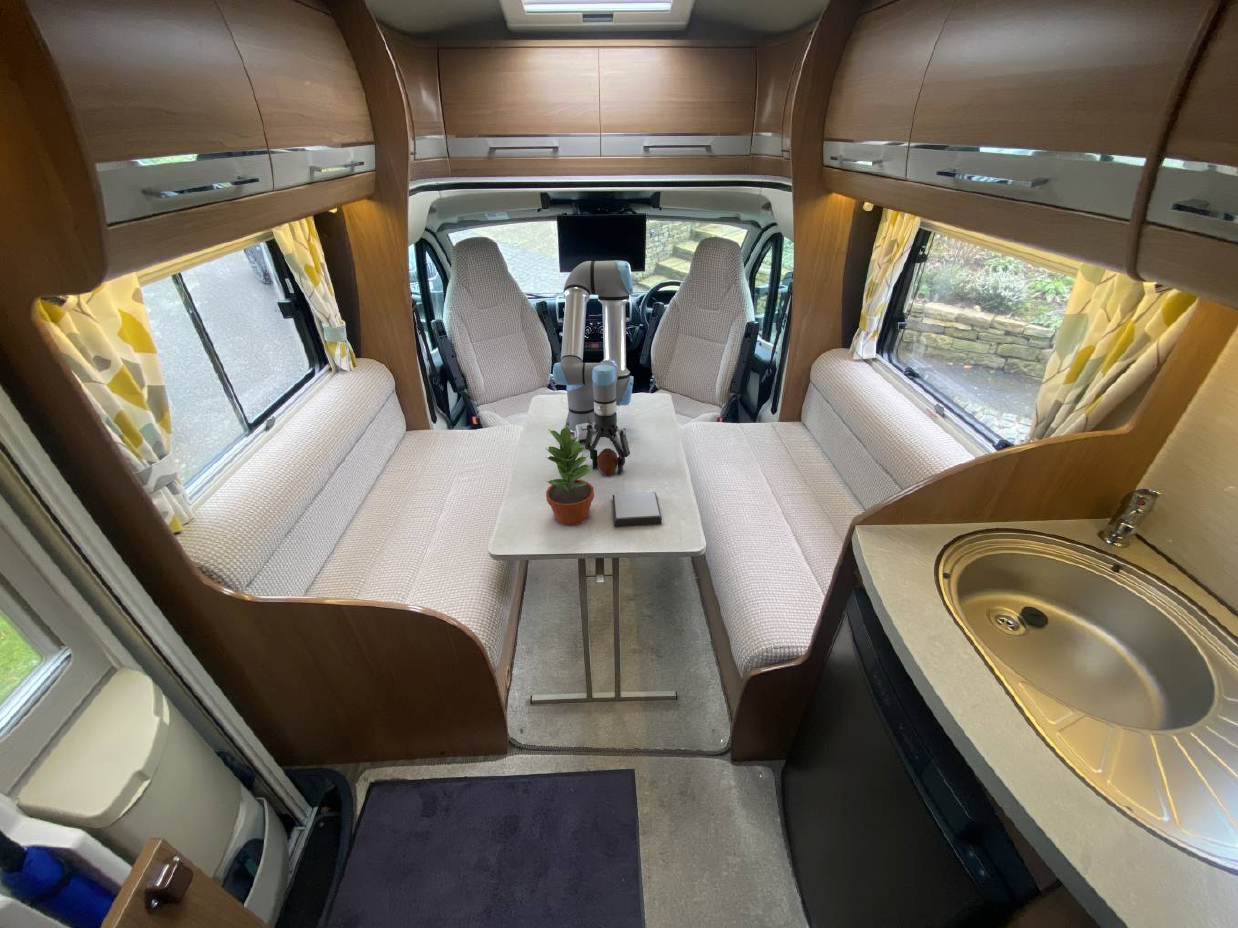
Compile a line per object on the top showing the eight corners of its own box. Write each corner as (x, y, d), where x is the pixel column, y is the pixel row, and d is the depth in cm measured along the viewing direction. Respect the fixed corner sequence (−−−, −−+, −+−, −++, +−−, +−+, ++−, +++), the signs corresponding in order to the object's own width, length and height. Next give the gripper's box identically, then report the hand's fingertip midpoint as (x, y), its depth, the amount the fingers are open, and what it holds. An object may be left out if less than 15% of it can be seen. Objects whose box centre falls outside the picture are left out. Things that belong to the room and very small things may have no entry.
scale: (612, 500, 161) (612, 492, 160) (655, 498, 162) (655, 490, 160) (614, 526, 149) (614, 518, 147) (661, 524, 150) (661, 516, 148)
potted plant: (602, 523, 150) (598, 435, 135) (553, 533, 147) (542, 443, 132) (591, 497, 163) (585, 413, 148) (545, 506, 159) (534, 421, 144)
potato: (596, 478, 173) (595, 458, 169) (598, 462, 183) (597, 442, 179) (618, 478, 173) (617, 458, 169) (618, 461, 183) (618, 442, 179)
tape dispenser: (576, 446, 198) (579, 436, 188) (572, 431, 200) (575, 421, 190) (590, 444, 199) (594, 434, 190) (586, 429, 201) (589, 418, 192)
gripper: (571, 411, 167) (575, 468, 179) (631, 421, 160) (632, 480, 171) (581, 403, 173) (585, 459, 185) (640, 412, 165) (640, 470, 177)
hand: (607, 469), depth 178 cm, fingers open, 9 cm apart
